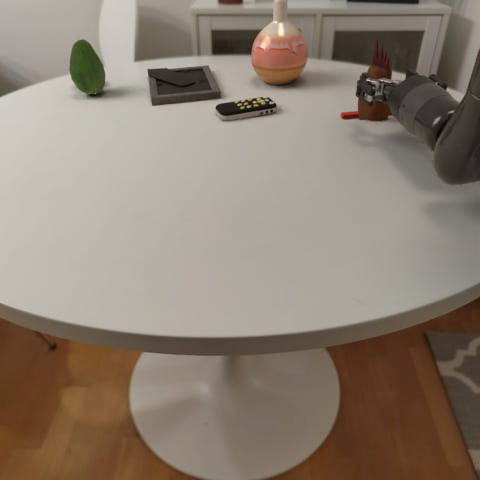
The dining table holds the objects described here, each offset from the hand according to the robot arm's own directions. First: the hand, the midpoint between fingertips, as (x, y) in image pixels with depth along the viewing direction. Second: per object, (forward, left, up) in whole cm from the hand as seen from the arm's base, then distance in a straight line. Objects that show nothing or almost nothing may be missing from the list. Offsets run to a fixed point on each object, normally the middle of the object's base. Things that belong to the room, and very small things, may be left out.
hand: (385, 76), depth 84 cm
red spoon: (-4, -7, -10) cm, 13 cm away
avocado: (+59, -34, -10) cm, 69 cm away
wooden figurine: (0, -3, -10) cm, 10 cm away
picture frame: (+37, -34, -10) cm, 51 cm away
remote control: (+24, -14, -10) cm, 30 cm away
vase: (+13, -33, -10) cm, 37 cm away
